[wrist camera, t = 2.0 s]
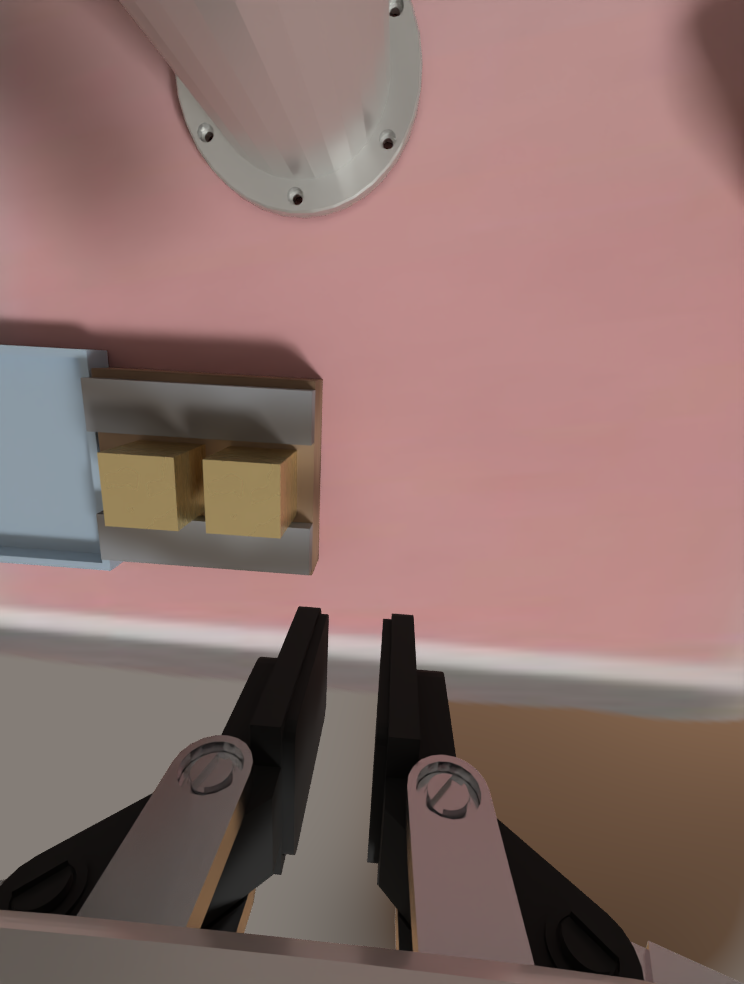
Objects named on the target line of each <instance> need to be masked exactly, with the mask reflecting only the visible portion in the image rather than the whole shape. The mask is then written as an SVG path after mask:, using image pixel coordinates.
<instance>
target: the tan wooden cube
mask: <svg viewBox="0 0 744 984" xmlns="http://www.w3.org/2000/svg"><path fill="white" fill-rule="evenodd" d="M97 457H98V466H99V475H100V484H101V493H102V502H103V511H104V520H105V526H112V527H126V528H140V529H154V530H168V531H179V530H181V529H182V528H183V527H185V526H186V525H187V524H188V523H190V522H191V521H192V520H194V519H195V518H196V517H198V516H199V515H200V514H202V513H203V512H204V511H205V502H204V481H203V460H202V459H204V458H206V449H205V444H195V443H180V442H164V441H148V440H137V441H134V442H131V443H127V444H124V445H121V446H117V447H114V448H111V449H107V450H104V451H101V452H97Z"/></svg>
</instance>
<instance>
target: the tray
mask: <svg viewBox="0 0 744 984" xmlns="http://www.w3.org/2000/svg"><path fill="white" fill-rule="evenodd" d="M91 368H109V365H108V355H107V350H89V349H71V348H53V347H35V346H17V345H0V562H3V563H16V564H29V565H43V566H56V567H69V568H82V569H95V570H109V571H111V570H112V569H114V568H115V567H116V566H118V565H119V564H121V563H122V562H123V561H113V560H101V551H100V542H99V534H98V525H97V517H96V514H97V513H99V512H101V511H103V502H102V493H101V484H100V475H99V466H98V457H97V452H100V447H99V438H98V432H88V431H86V422H85V414H84V405H83V396H82V388H81V379H80V378H84V377H92V374H91Z"/></svg>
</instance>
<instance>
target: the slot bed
mask: <svg viewBox="0 0 744 984" xmlns="http://www.w3.org/2000/svg"><path fill="white" fill-rule="evenodd" d="M91 374H92V377H84V378H80V379H81V388H82V396H83V405H84V414H85V422H86V431H88V432H98V438H99V447H100V452H101V451H104V450H107V449H111V448H114V447H117V446H121V445H124V444H127V443H131V442H134V441H137V440H148V441H164V442H180V443H195V444H205V449H206V457H208V456H210V455H212V454H215V453H217V452H219V451H221V450H223V449H225V448H227V447H229V446H242V447H258V448H274V449H289V450H297V515H296V516H295V518H294V519H293V521H292V522H291V524H290V525H289V527H288V528H287V530H286V531H285V533H284V534H283V536H282V537H281V539H279V538H265V537H251V536H237V535H224V534H210V533H206V523H205V511H204V512H203V513H202V514H200V515H199V516H198V517H196V518H195V519H194V520H192V521H191V522H190V523H188V524H187V525H186V526H185V527H183V528H182V529H181V530H179V531H168V530H154V529H140V528H126V527H112V526H105V520H104V511H101V512H99V513H97V514H96V517H97V525H98V534H99V542H100V551H101V560H113V561H126V562H139V563H153V564H166V565H179V566H193V567H206V568H220V569H233V570H246V571H260V572H273V573H286V574H300V575H312V574H313V571H314V569H315V566H316V564H317V561H318V556H319V513H320V471H321V428H322V385H323V379H306V378H288V377H271V376H253V375H236V374H219V373H201V372H184V371H166V370H149V369H132V368H91Z"/></svg>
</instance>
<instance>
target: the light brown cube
mask: <svg viewBox="0 0 744 984" xmlns="http://www.w3.org/2000/svg"><path fill="white" fill-rule="evenodd" d="M202 460H203V481H204V502H205V523H206V533H210V534H224V535H237V536H251V537H265V538H279V539H281V537H282V536H283V534H284V533H285V531H286V530H287V528H288V527H289V525H290V524H291V522H292V521H293V519H294V518H295V516H296V515H297V450H289V449H274V448H258V447H242V446H229V447H227V448H225V449H223V450H221V451H219V452H217V453H215V454H212V455H210V456H208V457H206V458H204V459H202Z"/></svg>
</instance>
